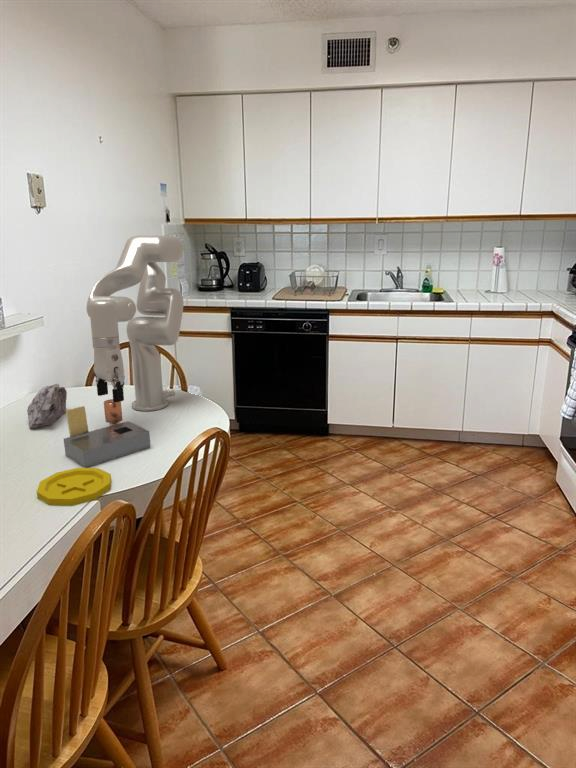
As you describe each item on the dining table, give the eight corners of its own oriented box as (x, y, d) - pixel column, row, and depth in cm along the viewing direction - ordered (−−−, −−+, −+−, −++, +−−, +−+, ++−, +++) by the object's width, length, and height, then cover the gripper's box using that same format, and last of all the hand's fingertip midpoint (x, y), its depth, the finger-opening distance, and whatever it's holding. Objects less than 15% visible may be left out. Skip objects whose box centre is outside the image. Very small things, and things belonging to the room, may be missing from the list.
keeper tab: (71, 437, 158) (70, 437, 159) (88, 433, 162) (87, 432, 162) (67, 410, 156) (65, 410, 157) (84, 406, 160) (83, 406, 161)
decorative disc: (86, 468, 152) (85, 462, 152) (125, 487, 142) (124, 480, 141) (25, 491, 140) (24, 484, 139) (63, 514, 129) (62, 506, 129)
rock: (44, 438, 179) (59, 396, 175) (13, 427, 177) (27, 384, 174) (66, 416, 200) (80, 378, 197) (38, 405, 198) (51, 367, 195)
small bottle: (118, 429, 179) (115, 397, 176) (126, 433, 176) (123, 401, 173) (104, 433, 176) (100, 401, 173) (111, 438, 172) (108, 405, 169)
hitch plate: (129, 436, 174) (128, 421, 172) (150, 447, 165) (149, 431, 164) (65, 455, 160) (63, 438, 159) (84, 468, 152) (82, 450, 151)
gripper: (132, 344, 164) (136, 401, 168) (103, 336, 176) (108, 390, 180) (108, 348, 159) (113, 406, 163) (80, 340, 171) (85, 394, 175)
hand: (110, 398), depth 172 cm, fingers open, 9 cm apart
